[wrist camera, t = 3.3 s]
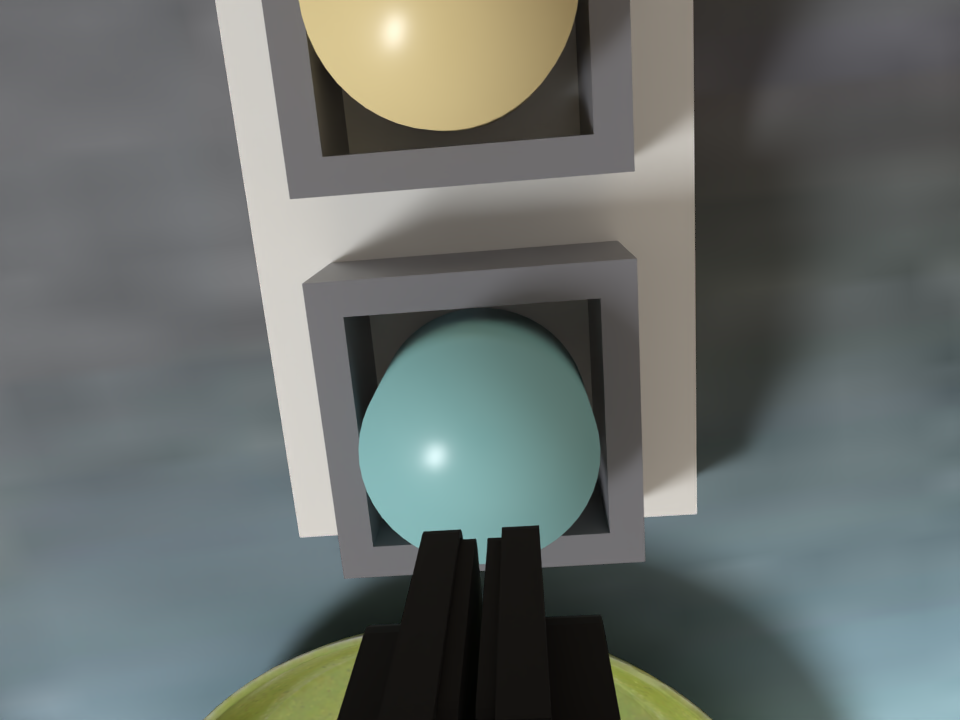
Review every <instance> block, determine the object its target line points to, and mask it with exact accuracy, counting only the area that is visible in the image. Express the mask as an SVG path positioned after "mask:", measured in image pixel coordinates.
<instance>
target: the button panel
mask: <svg viewBox="0 0 960 720" xmlns="http://www.w3.org/2000/svg"><path fill="white" fill-rule="evenodd" d="M215 2H216V9H217V15H218V21H219V28H220V34H221V41H222V47H223V53H224V60H225V66H226V72H227V79H228V85H229V91H230V98H231V104H232V110H233V117H234V123H235V129H236V136H237V142H238V148H239V155H240V161H241V167H242V174H243V180H244V186H245V193H246V199H247V205H248V212H249V218H250V224H251V231H252V237H253V243H254V250H255V256H256V263H257V269H258V275H259V282H260V288H261V294H262V301H263V307H264V313H265V320H266V326H267V332H268V339H269V345H270V351H271V358H272V364H273V370H274V377H275V383H276V389H277V396H278V402H279V408H280V415H281V421H282V427H283V434H284V440H285V446H286V453H287V459H288V465H289V472H290V478H291V484H292V491H293V497H294V504H295V510H296V516H297V523H298V529H299V535H300V537H314V536H331V535H338V539H339V546H340V553H341V560H342V567H343V574H344V579H347V578H364V577H382V576H400V575H413V571H414V567H415V562H416V558H417V554H418V550H419V548H417V547H416V546H414V545H413V544H411V543H410V542H408V541H407V540H405V539H404V538H402V537H401V536H400V535H399V534H398V533H397V532H395V531H394V530H393V529H392V528H391V527H390V526H389V525H388V523H387V522H386V521H385V520H384V519H383V518H382V516H381V515H380V514H379V512H378V511H377V509H376V508H375V506H374V505H373V503H372V501H371V499H370V497H369V495H368V493H367V490H366V487H365V485H364V482H363V479H362V474H361V469H360V465H359V437H360V431H361V427H362V422H363V419H364V416H365V413H366V411H367V408H368V406H369V404H370V402H371V400H372V398H373V396H374V394H375V392H376V390H377V388H378V386H379V384H380V382H381V380H382V378H383V376H384V374H385V372H386V370H387V368H388V366H389V364H390V362H391V361H392V359H393V357H394V355H395V353H396V352H397V351H398V349H399V348H400V347H401V345H402V344H403V343H404V342H405V341H406V340H407V339H408V338H409V337H410V336H411V335H412V334H413V333H414V332H415V331H417V330H418V329H419V328H420V327H422V326H423V325H425V324H426V323H428V322H430V321H432V320H433V319H435V318H438V317H440V316H442V315H445V314H447V313H451V312H454V311H458V310H463V309H470V308H494V309H502V310H506V311H510V312H514V313H517V314H520V315H522V316H525V317H527V318H529V319H531V320H533V321H535V322H537V323H538V324H540V325H542V326H543V327H544V328H546V329H547V330H548V331H550V332H551V333H552V334H553V335H554V336H555V337H556V338H557V339H558V340H559V341H560V342H561V343H562V344H563V345H564V346H565V348H566V349H567V350H568V352H569V353H570V355H571V356H572V358H573V360H574V361H575V363H576V365H577V367H578V370H579V372H580V375H581V377H582V380H583V384H584V387H585V390H586V393H587V396H588V399H589V402H590V405H591V409H592V412H593V415H594V418H595V421H596V425H597V429H598V433H599V441H600V466H599V472H598V478H597V481H596V484H595V487H594V491H593V493H592V495H591V497H590V499H589V501H588V504H587V506H586V507H585V509H584V510H583V512H582V513H581V515H580V516H579V518H578V519H577V520H576V521H575V522H574V523H573V525H572V526H571V527H570V528H569V529H568V530H567V531H566V532H565V533H563V534H562V535H561V536H560V537H559V538H558V539H556V540H555V541H553V542H552V543H550V544H549V545H548V546H546V547H544V548H542V549H541V560H542V568H543V567H560V566H578V565H596V564H614V563H632V562H645V532H644V517H654V516H671V515H688V514H697V454H696V317H695V181H694V45H693V0H578V5H577V11H576V15H575V19H574V23H573V26H572V30H571V32H570V35H569V37H568V40H567V42H566V45H565V47H564V49H563V51H562V53H561V55H560V56H559V58H558V60H557V62H556V64H555V65H554V67H553V68H552V70H551V71H550V72H549V74H548V75H547V77H546V78H545V79H544V81H543V82H542V84H541V85H540V86H539V88H538V89H537V90H536V91H535V92H534V93H533V94H532V96H531V97H530V98H529V99H528V100H527V101H526V102H524V103H523V104H522V105H521V106H520V107H518V108H517V109H516V110H515V111H513V112H511V113H510V114H508V115H507V116H505V117H503V118H502V119H500V120H497V121H495V122H493V123H491V124H488V125H485V126H482V127H478V128H475V129H470V130H463V131H436V130H427V129H419V128H413V127H409V126H405V125H401V124H398V123H395V122H393V121H390V120H388V119H386V118H383V117H381V116H379V115H377V114H376V113H374V112H372V111H370V110H369V109H367V108H365V107H364V106H363V105H361V104H360V103H359V102H357V101H356V100H355V99H353V98H352V97H351V96H350V95H349V94H348V93H347V92H346V91H345V90H344V89H343V88H342V87H341V86H340V85H339V84H338V83H337V82H336V81H335V80H334V78H333V77H332V76H331V75H330V73H329V72H328V71H327V69H326V68H325V66H324V65H323V63H322V62H321V60H320V58H319V57H318V55H317V53H316V52H315V49H314V47H313V45H312V43H311V41H310V38H309V36H308V34H307V31H306V28H305V24H304V21H303V18H302V15H301V10H300V4H299V0H215ZM485 566H486V564H479V568H480V571H485Z"/></svg>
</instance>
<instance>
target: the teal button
mask: <svg viewBox="0 0 960 720" xmlns="http://www.w3.org/2000/svg"><path fill="white" fill-rule="evenodd" d="M359 465H360V469H361V474H362V479H363V482H364V485H365V487H366V490H367V493H368V495H369V497H370V499H371V501H372V503H373V505H374V506H375V508H376V509H377V511H378V512H379V514H380V515H381V516H382V518H383V519H384V520H385V521H386V522H387V523H388V525H389V526H390V527H391V528H392V529H393V530H394V531H395V532H397V533H398V534H399V535H400V536H401V537H402V538H404V539H405V540H407V541H408V542H410V543H411V544H413V545H414V546H416V547H417V548H419V546H420V542H421V537H422V534H423V531H440V530H459V529H461V531H462V535H463V539H476V540H477V547H478V557H479V564H486V552H487V539H488V538H497V537H501V535H502V527H515V526H534V525H539V530H540V545H541V549H542V548H544V547H546V546H548V545H549V544H550V543H552V542H553V541H555V540H556V539H558V538H559V537H560V536H561V535H562V534H563V533H565V532H566V531H567V530H568V529H569V528H570V527H571V526H572V525H573V523H574V522H575V521H576V520H577V519H578V518H579V516H580V515H581V513H582V512H583V510H584V509H585V507H586V506H587V504H588V501H589V499H590V497H591V495H592V493H593V491H594V487H595V484H596V481H597V478H598V472H599V466H600V441H599V433H598V429H597V425H596V421H595V418H594V415H593V412H592V409H591V405H590V402H589V399H588V396H587V393H586V390H585V387H584V384H583V380H582V377H581V375H580V372H579V370H578V367H577V365H576V363H575V361H574V360H573V358H572V356H571V355H570V353H569V352H568V350H567V349H566V348H565V346H564V345H563V344H562V343H561V342H560V341H559V340H558V339H557V338H556V337H555V336H554V335H553V334H552V333H551V332H550V331H548V330H547V329H546V328H544V327H543V326H542V325H540V324H538V323H537V322H535V321H533V320H531V319H529V318H527V317H525V316H522V315H520V314H517V313H514V312H510V311H506V310H502V309H494V308H470V309H463V310H458V311H454V312H451V313H447V314H445V315H442V316H440V317H438V318H435V319H433V320H432V321H430V322H428V323H426V324H425V325H423V326H422V327H420V328H419V329H418V330H417V331H415V332H414V333H413V334H412V335H411V336H410V337H409V338H408V339H407V340H406V341H405V342H404V343H403V344H402V345H401V347H400V348H399V349H398V351H397V352H396V353H395V355H394V357H393V359H392V361H391V362H390V364H389V366H388V368H387V370H386V372H385V374H384V376H383V378H382V380H381V382H380V384H379V386H378V388H377V390H376V392H375V394H374V396H373V398H372V400H371V402H370V404H369V406H368V408H367V411H366V413H365V416H364V419H363V422H362V427H361V431H360V437H359Z"/></svg>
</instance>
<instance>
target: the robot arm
mask: <svg viewBox="0 0 960 720" xmlns="http://www.w3.org/2000/svg"><path fill="white" fill-rule="evenodd" d="M337 720H621V718H620V712H619V707H618V701H617V696H616V691H615V685H614V680H613V674H612V669H611V663H610V658H609V653H608V647H607V642H606V636H605V631H604V625H603V620H602V616H601V615H580V616H558V617H545V605H544V590H543V575H542V560H541V545H540V530H539V525H534V526H515V527H502V535H501V537H497V538H488V539H487V552H486V566H485V580H484V594H483V602H482V591H481V579H480V568H479V557H478V547H477V540H476V539H463V535H462V531H461V529H459V530H440V531H423V534H422V537H421V542H420V546H419V550H418V554H417V558H416V562H415V567H414V571H413V575H412V579H411V583H410V587H409V591H408V596H407V600H406V604H405V608H404V612H403V616H402V621H401V624H383V625H369V626H367V627H366V630H365V632H364V634H363V637H362V641H361V644H360V647H359V650H358V654H357V657H356V660H355V663H354V666H353V670H352V673H351V676H350V679H349V682H348V686H347V689H346V692H345V695H344V698H343V702H342V705H341V708H340V711H339V715H338V718H337Z"/></svg>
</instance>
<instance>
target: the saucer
mask: <svg viewBox="0 0 960 720" xmlns="http://www.w3.org/2000/svg"><path fill="white" fill-rule="evenodd" d="M363 634H364V633H362V634H359V635H355V636H351V637H347V638H344V639H341V640H338V641H335V642H332V643H329V644H327V645H324V646H321V647H318V648H316V649H313V650H311V651H309V652H306V653H304V654H301V655H299V656H297V657H294V658H292V659H290V660H288V661H286V662H284V663H282V664H280V665H278V666H276V667H274V668H272V669H270V670H269V671H267V672H265V673H264V674H262V675H260V676H259V677H257V678H255V679H254V680H252V681H250V682H249V683H247V684H246V685H244V686H243V687H241V688H240V689H239V690H237V691H236V692H235V693H233V694H232V695H231V696H229V697H228V698H227V699H226V700H225V701H223V702H222V703H221V704H220V705H218V706H217V707H216V708H215V709H214V710H213V711H212V712H211V713H210V714H209V715H208V716H206V717H205V718H204V719H203V720H337V718H338V715H339V711H340V708H341V705H342V702H343V698H344V695H345V692H346V689H347V686H348V682H349V679H350V676H351V673H352V670H353V666H354V663H355V660H356V657H357V654H358V650H359V647H360V644H361V641H362V637H363ZM609 658H610V663H611V669H612V674H613V680H614V685H615V691H616V696H617V701H618V707H619V712H620V718H621V720H712V719H711V718H710V717H709V716H708V715H707V714H706V713H704V712H703V711H702V710H701V709H700V708H699V707H697V706H696V705H695V704H693V703H692V702H691V701H690V700H688V699H687V698H686V697H684V696H683V695H681V694H680V693H679V692H677V691H676V690H674V689H673V688H672V687H670V686H668V685H667V684H665V683H663V682H662V681H660V680H658V679H657V678H655V677H653V676H652V675H650V674H648V673H647V672H645V671H643V670H642V669H640V668H638V667H636V666H634V665H632V664H630V663H628V662H626V661H624V660H622V659H620V658H617V657H615V656H613V655H611V654H609Z"/></svg>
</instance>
